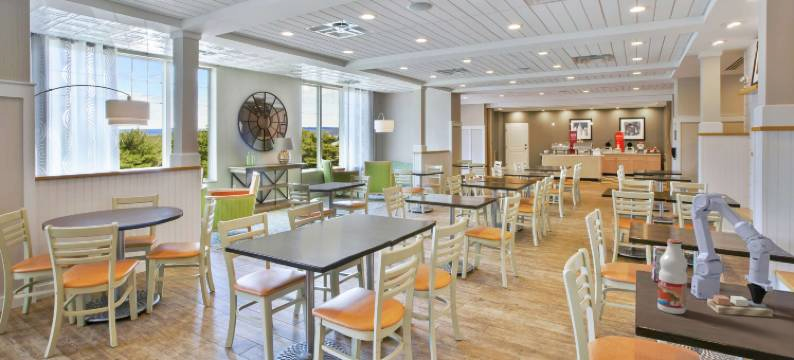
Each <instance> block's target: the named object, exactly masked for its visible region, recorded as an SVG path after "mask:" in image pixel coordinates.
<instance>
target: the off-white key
mask: <svg viewBox="0 0 794 360" xmlns="http://www.w3.org/2000/svg"><path fill="white" fill-rule="evenodd" d="M729 299H730V302H731V303H732V304H734V305H735V306H748V301H749V300H748V299H747V298H746V297H744V296H741V295H739V296H736V295H730V298H729Z"/></svg>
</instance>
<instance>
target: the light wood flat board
mask: <svg viewBox="0 0 794 360" xmlns="http://www.w3.org/2000/svg"><path fill="white" fill-rule="evenodd" d="M706 305H707V306H708V307H709V308H711V310H713V311H715V313H716V314H720V315H734V316H735V315H736V316H737V315H739V316H752V317H755V316H756V317H765V318H773V315H774V310H773V309H771V308H770V307H769V306H766V308H754V307H752V306H750V305H749V304H748V306H735V305H734V304H732V303H731V302H730V305H718V304H717V303H715V302H714V301H713V299H706Z"/></svg>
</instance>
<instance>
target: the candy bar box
mask: <svg viewBox="0 0 794 360" xmlns="http://www.w3.org/2000/svg"><path fill="white" fill-rule="evenodd" d="M652 249H653V253H652V265H651V267H652V268H651V269H652V270H651V279H652V282H654V283H659V272H660V270H661V265H660V258H661V257H662V255H663V254H664V253H665V251H666V249H667V246H661V245H653V248H652ZM681 250H682V253H683V249H682V248H681ZM683 254H684V253H683Z"/></svg>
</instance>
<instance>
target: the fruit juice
mask: <svg viewBox="0 0 794 360" xmlns="http://www.w3.org/2000/svg"><path fill="white" fill-rule="evenodd" d="M666 244H667V246H666V247H667V249H666V251H665V253H664V254H663V255H662V257H661V258H660V265H661V270H660V272H659V282H657V285H658V288H657V308H658V310H659V311H661V312H665V313H668V314H673V315H682V314H685V312H686V310H687V307H686V306H687V289H688V274H687V268H688V260H687V258H686V257H685V255H684V253H682V250H683V249H682V244H683V241H682V240H681V239H676V238H667V240H666ZM681 249H682V250H681Z"/></svg>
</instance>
